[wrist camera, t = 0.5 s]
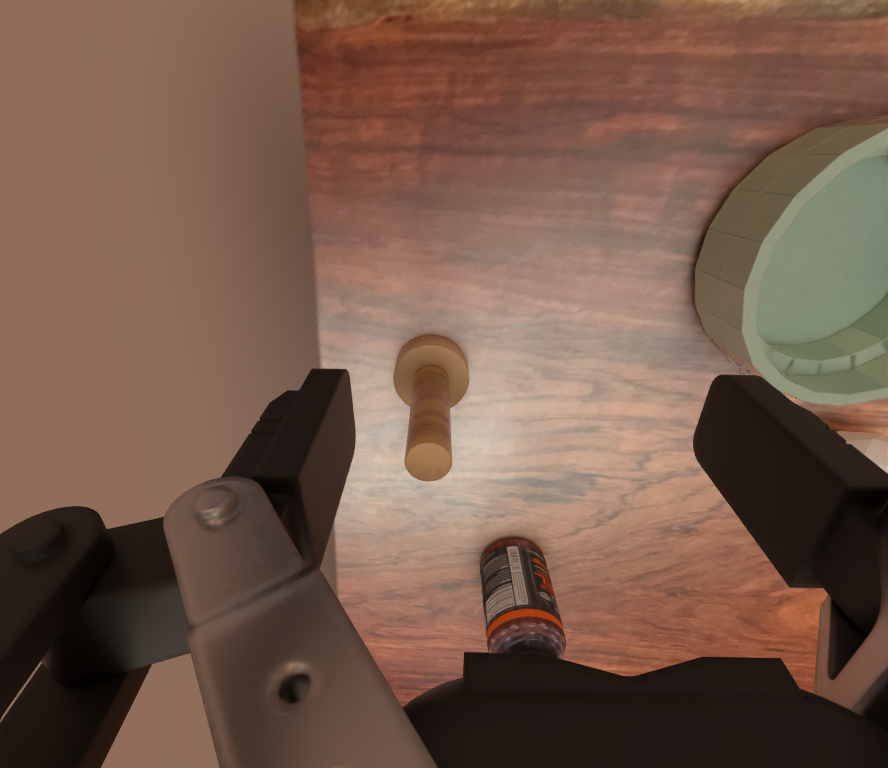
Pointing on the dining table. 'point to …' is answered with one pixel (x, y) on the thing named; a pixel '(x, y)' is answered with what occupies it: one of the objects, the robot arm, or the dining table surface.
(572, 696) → the robot arm
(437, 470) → the wooden peg on base
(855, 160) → the bowl
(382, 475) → the dining table surface
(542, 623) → the supplement bottle
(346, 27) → the dining table surface
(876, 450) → the geometric ball
